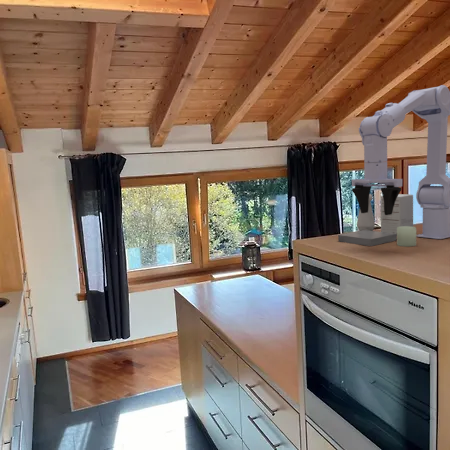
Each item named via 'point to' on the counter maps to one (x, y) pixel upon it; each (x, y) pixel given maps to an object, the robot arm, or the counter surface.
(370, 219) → the salt shaker
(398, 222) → the supplement box
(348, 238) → the slate base
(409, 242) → the green cylinder
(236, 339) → the counter surface
